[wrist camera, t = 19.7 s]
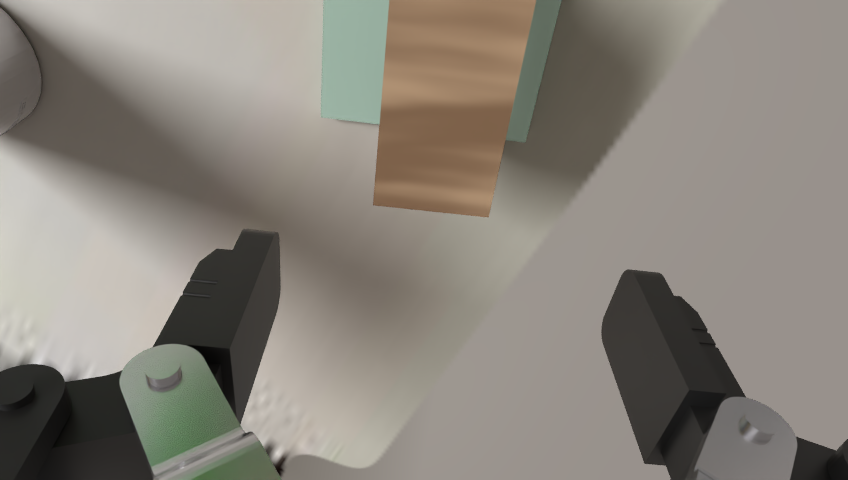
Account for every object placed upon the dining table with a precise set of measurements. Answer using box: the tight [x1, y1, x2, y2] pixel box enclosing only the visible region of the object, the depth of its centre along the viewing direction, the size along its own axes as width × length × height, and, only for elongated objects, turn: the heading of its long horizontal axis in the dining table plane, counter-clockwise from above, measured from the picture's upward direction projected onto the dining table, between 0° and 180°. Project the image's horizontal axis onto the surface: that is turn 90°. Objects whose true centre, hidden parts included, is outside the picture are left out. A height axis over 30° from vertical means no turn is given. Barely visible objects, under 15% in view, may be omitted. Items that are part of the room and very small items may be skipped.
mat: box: [321, 0, 562, 142], centre depth 32 cm, size 13×13×1 cm
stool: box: [373, 0, 536, 217], centre depth 28 cm, size 10×6×11 cm
